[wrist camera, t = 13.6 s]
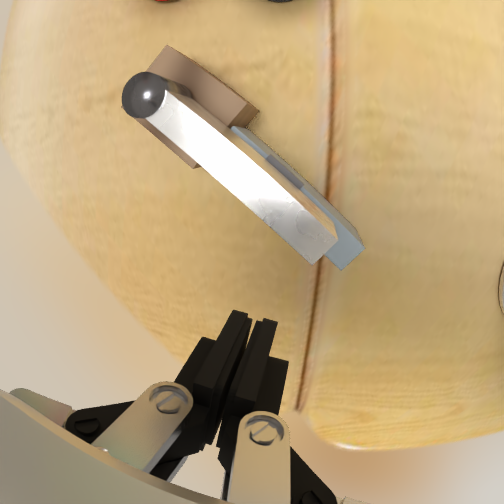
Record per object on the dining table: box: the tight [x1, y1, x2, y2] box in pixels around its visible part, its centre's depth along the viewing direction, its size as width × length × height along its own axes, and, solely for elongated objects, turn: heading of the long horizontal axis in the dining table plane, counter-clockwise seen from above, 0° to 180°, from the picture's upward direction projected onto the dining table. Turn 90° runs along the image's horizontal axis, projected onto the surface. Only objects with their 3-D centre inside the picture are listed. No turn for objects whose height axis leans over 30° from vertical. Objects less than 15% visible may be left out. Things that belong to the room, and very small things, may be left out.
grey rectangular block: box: [231, 126, 365, 270], centre depth 23 cm, size 12×3×5 cm, turn 49°
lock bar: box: [122, 72, 338, 265], centre depth 17 cm, size 15×3×4 cm, turn 49°
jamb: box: [121, 45, 259, 169], centre depth 22 cm, size 8×6×5 cm
